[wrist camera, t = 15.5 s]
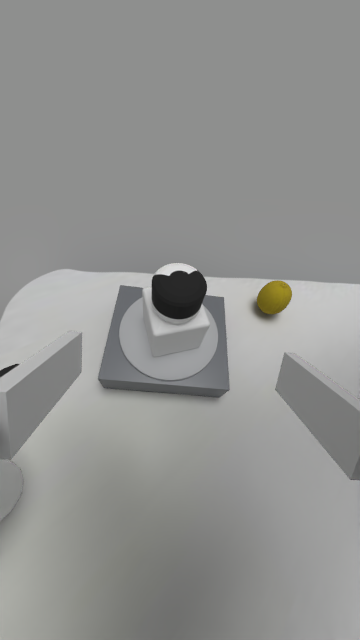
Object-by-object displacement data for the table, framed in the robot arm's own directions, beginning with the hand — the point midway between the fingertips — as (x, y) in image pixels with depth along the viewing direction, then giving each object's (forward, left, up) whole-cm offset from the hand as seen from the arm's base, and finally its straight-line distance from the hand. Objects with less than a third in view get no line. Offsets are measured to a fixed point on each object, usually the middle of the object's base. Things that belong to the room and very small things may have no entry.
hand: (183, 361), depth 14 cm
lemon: (-19, -21, -22) cm, 36 cm away
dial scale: (0, -11, -22) cm, 25 cm away
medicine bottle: (0, -11, -17) cm, 20 cm away
